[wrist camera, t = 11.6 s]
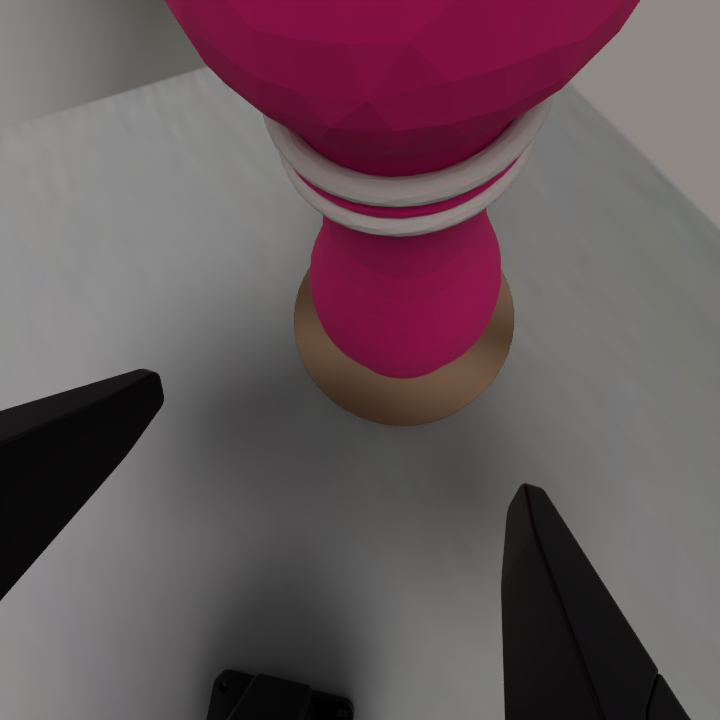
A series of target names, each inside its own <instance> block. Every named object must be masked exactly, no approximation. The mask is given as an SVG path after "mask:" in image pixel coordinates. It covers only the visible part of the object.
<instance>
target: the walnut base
mask: <svg viewBox="0 0 720 720" xmlns="http://www.w3.org/2000/svg"><path fill="white" fill-rule="evenodd" d="M513 330H514V308H513V300H512V296H511V292H510V289H509V285H508V283H507V280H506V278H505V276H504V274H503V272H502V270H501V287H500V293H499V297H498V300H497V303H496V306H495V309H494V311H493V314H492V317H491V319H490V321H489V323H488V325H487V327H486V329H485V331H484V332H483V334H482V335H481V336H480V338H479V339H478V340H477V341H476V343H475V344H474V345H473V346H472V347H471V348H470V349H469V350H467V351H466V352H465V353H464V354H463V355H462V356H460V357H458V358H457V359H455V360H454V361H452V362H451V363H449V364H447V365H444V366H442V367H441V368H439V369H437V370H436V371H434V372H432V373H430V374H427V375H424V376H420V377H416V378H410V379H399V378H390V377H386V376H383V375H380V374H377V373H375V372H373V371H372V370H370V369H368V368H367V367H365V366H362V365H360V364H359V363H357V362H355V361H354V360H352V359H351V358H349V357H348V356H346V355H345V354H344V353H343V352H342V351H341V350H340V349H338V348H337V347H336V346H335V345H334V343H333V342H332V341H331V339H330V338H329V337H328V336H327V334H326V332H325V330H324V328H323V326H322V324H321V323H320V321H319V318H318V316H317V313H316V310H315V307H314V304H313V301H312V296H311V290H310V268H309V269H308V271H307V273H306V275H305V277H304V279H303V281H302V284H301V286H300V289H299V292H298V296H297V299H296V304H295V312H294V331H295V338H296V344H297V347H298V350H299V354H300V357H301V359H302V361H303V363H304V366H305V368H306V369H307V371H308V373H309V374H310V376H311V378H312V379H313V380H314V382H315V383H316V384H317V385H318V387H319V388H320V389H321V390H322V391H323V392H324V393H325V394H326V395H327V396H328V397H329V398H330V399H332V400H333V401H334V402H336V403H337V404H339V405H340V406H341V407H343V408H344V409H346V410H348V411H349V412H351V413H353V414H355V415H357V416H359V417H361V418H364V419H367V420H370V421H372V422H376V423H381V424H386V425H395V426H410V425H419V424H425V423H430V422H433V421H436V420H439V419H442V418H444V417H446V416H448V415H451V414H453V413H455V412H457V411H458V410H460V409H461V408H463V407H464V406H466V405H467V404H469V403H470V402H472V401H473V400H474V399H475V398H477V397H478V396H479V395H480V394H481V393H482V392H483V391H484V390H485V389H486V388H487V387H488V386H489V385H490V383H491V382H492V381H493V380H494V378H495V377H496V375H497V374H498V372H499V371H500V369H501V368H502V366H503V363H504V361H505V359H506V357H507V355H508V352H509V348H510V345H511V342H512V336H513Z"/></svg>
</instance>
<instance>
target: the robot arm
mask: <svg viewBox="0 0 720 720" xmlns="http://www.w3.org/2000/svg"><path fill="white" fill-rule="evenodd" d="M163 402H164V394H163V389H162V384H161V379H160V376H159V374H158V373H156V372H154V371H150V370H147V369H138V370H135V371H131V372H128V373H125V374H121V375H118V376H115V377H111V378H108V379H105V380H101V381H98V382H95V383H92V384H88V385H85V386H82V387H78V388H75V389H72V390H68V391H65V392H62V393H58V394H55V395H52V396H48V397H45V398H42V399H38V400H35V401H32V402H28V403H25V404H22V405H18V406H15V407H12V408H8V409H5V410H2V411H0V601H1V600H2V598H3V597H4V596H5V595H6V594H7V593H8V591H9V590H10V589H11V588H12V587H13V586H14V585H15V583H16V582H17V581H18V580H19V579H20V578H21V577H22V575H23V574H24V573H25V572H26V571H27V570H28V568H29V567H30V566H31V565H32V564H33V563H34V562H35V560H36V559H37V558H38V557H39V556H40V555H41V554H42V552H43V551H44V550H45V549H46V548H47V547H48V545H49V544H50V543H51V542H52V541H53V540H54V539H55V537H56V536H57V535H58V534H59V533H60V532H61V531H62V529H63V528H64V527H65V526H66V525H67V524H68V522H69V521H70V520H71V519H72V518H73V517H74V516H75V514H76V513H77V512H78V511H79V510H80V509H81V508H82V506H83V505H84V504H85V503H86V502H87V501H88V499H89V498H90V497H91V496H92V495H93V494H94V493H95V491H96V490H97V489H98V488H99V487H100V486H101V484H102V483H103V482H104V481H105V480H106V479H107V478H108V476H109V475H110V474H111V473H112V472H113V471H114V470H115V468H116V467H117V466H118V465H119V464H120V463H121V461H122V460H123V459H124V458H125V457H126V455H127V454H128V453H129V451H130V450H131V449H132V447H133V446H134V445H135V443H136V442H137V440H138V439H139V438H140V436H141V435H142V433H143V432H144V431H145V429H146V428H147V426H148V425H149V424H150V422H151V421H152V419H153V418H154V417H155V415H156V414H157V412H158V411H159V410H160V408H161V407H162V405H163ZM501 604H502V637H503V670H504V702H505V720H691V719H690V718H689V716H688V715H687V713H686V712H685V710H684V709H683V707H682V706H681V704H680V703H679V701H678V700H677V698H676V696H675V695H674V693H673V692H672V690H671V689H670V687H669V685H668V684H667V682H666V681H665V679H664V678H663V676H662V675H661V674H658V669H657V667H656V665H655V664H654V662H653V661H652V659H651V657H650V656H649V654H648V653H647V651H646V650H645V648H644V646H643V645H642V643H641V642H640V640H639V639H638V637H637V635H636V634H635V632H634V631H633V629H632V628H631V626H630V624H629V623H628V621H627V620H626V618H625V617H624V615H623V613H622V612H621V610H620V609H619V607H618V605H617V604H616V602H615V601H614V599H613V598H612V596H611V594H610V593H609V591H608V590H607V588H606V587H605V585H604V583H603V582H602V580H601V579H600V577H599V576H598V574H597V572H596V571H595V569H594V568H593V566H592V565H591V563H590V561H589V560H588V558H587V557H586V555H585V554H584V552H583V550H582V549H581V547H580V546H579V544H578V543H577V541H576V539H575V538H574V536H573V535H572V533H571V532H570V530H569V528H568V527H567V525H566V524H565V522H564V521H563V519H562V517H561V516H560V514H559V513H558V511H557V510H556V508H555V506H554V505H553V503H552V502H551V500H550V499H549V497H548V495H547V494H546V492H545V491H544V490H543V489H542V488H540V487H537V486H533V485H530V484H527V483H524V484H522V485H521V486H520V487H519V489H518V491H517V493H516V494H515V496H514V498H513V500H512V502H511V503H510V505H509V508H508V512H507V519H506V531H505V543H504V554H503V566H502V579H501ZM223 680H225V681H227V682H228V684H229V688H226V687H224V685H223ZM339 710H344V711H346V713H347V714H348V715H347V716H346V717H341V716H340V715H339V713H338V711H339ZM207 720H354V706H353V704H352V702H351V701H350V700H349V699H347V698H344V697H340V696H336V695H332V694H328V693H324V692H320V691H316V690H312V688H311V687H310V686H309V685H306V684H301V683H297V682H293V681H289V680H285V679H281V678H277V677H273V676H269V675H264V674H258V675H256V676H254V675H250V674H246V673H242V672H238V671H234V670H224V671H222V672H221V673H220V674H219V676H218V677H217V678H216V679H215V682H214V685H213V690H212V695H211V700H210V705H209V711H208V716H207Z"/></svg>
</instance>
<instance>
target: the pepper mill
mask: <svg viewBox="0 0 720 720" xmlns="http://www.w3.org/2000/svg"><path fill="white" fill-rule="evenodd" d="M165 1H166V3H167V5H168V7H169V8H170V10H171V12H172V13H173V15H174V17H175V18H176V20H177V21H178V22H179V24H180V26H181V27H182V29H183V30H184V32H185V33H186V35H187V36H188V38H189V39H190V41H191V43H192V44H193V46H194V47H195V49H196V50H197V52H198V53H199V55H200V56H201V58H202V59H203V61H204V62H205V64H206V65H207V66H208V67H209V68H210V69H211V70H212V71H213V72H214V73H215V74H216V75H217V76H218V77H219V78H220V79H221V80H222V81H223V82H224V83H225V84H226V85H228V86H229V87H230V88H231V89H233V90H234V91H235V92H237V93H238V94H239V95H240V96H242V97H243V98H244V99H245V100H247V101H248V102H249V103H250V104H252V105H253V106H254V107H255V108H257V109H258V110H259V111H260V112H262V113H263V117H264V121H265V124H266V127H267V130H268V132H269V134H270V136H271V139H272V141H273V143H274V145H275V147H276V148H277V149H278V151H279V155H280V158H281V161H282V164H283V167H284V169H285V171H286V173H287V175H288V177H289V179H290V181H291V183H292V184H293V186H294V187H295V189H296V190H297V192H298V193H299V194H300V195H301V196H302V197H303V198H304V200H305V201H307V202H308V203H309V204H310V205H311V206H312V207H314V208H315V209H316V210H317V211H318V212H320V213H321V214H323V226H322V228H321V230H320V232H319V234H318V236H317V239H316V241H315V244H314V247H313V251H312V255H311V264H310V290H311V296H312V301H313V304H314V307H315V310H316V313H317V316H318V318H319V321H320V323H321V324H322V326H323V328H324V330H325V332H326V334H327V336H328V337H329V338H330V339H331V341H332V342H333V343H334V345H335V346H336V347H337V348H338V349H340V350H341V351H342V352H343V353H344V354H345V355H346V356H348V357H349V358H351V359H352V360H354V361H355V362H357V363H359V364H360V365H362V366H365V367H367V368H368V369H370V370H372V371H373V372H375V373H377V374H380V375H383V376H386V377H390V378H399V379H410V378H416V377H420V376H424V375H427V374H430V373H432V372H434V371H436V370H437V369H439V368H441V367H442V366H444V365H447V364H449V363H451V362H452V361H454V360H455V359H457V358H458V357H460V356H462V355H463V354H464V353H465V352H466V351H467V350H469V349H470V348H471V347H472V346H473V345H474V344H475V343H476V341H477V340H478V339H479V338H480V336H481V335H482V334H483V332H484V331H485V329H486V327H487V325H488V323H489V321H490V319H491V317H492V314H493V311H494V309H495V306H496V303H497V300H498V297H499V293H500V287H501V257H500V249H499V244H498V241H497V238H496V235H495V232H494V230H493V228H492V225H491V223H490V221H489V218H488V216H487V213H486V208H487V207H488V206H489V205H491V204H492V203H494V202H495V201H496V200H497V199H498V198H499V197H500V196H501V195H502V194H503V193H504V192H505V191H506V190H508V189H509V187H510V186H511V185H512V184H513V182H514V181H515V180H516V178H517V177H518V176H519V174H520V173H521V171H522V169H523V168H524V166H525V164H526V163H527V161H528V159H529V156H530V154H531V152H532V149H533V147H534V143H535V139H536V135H537V133H538V131H539V130H540V128H541V126H542V125H543V123H544V121H545V119H546V117H547V115H548V113H549V111H550V108H551V105H552V101H553V97H554V94H555V93H556V92H557V91H559V90H560V89H562V88H563V87H564V86H565V85H566V84H567V83H568V82H569V81H570V80H571V79H572V77H574V76H575V75H576V74H577V73H578V72H579V71H580V70H581V69H582V68H583V67H584V66H585V65H586V64H587V63H588V62H589V61H590V60H591V59H592V58H593V57H594V56H595V55H596V54H597V53H598V52H599V51H600V50H601V49H602V48H603V47H604V46H605V45H606V44H607V43H608V42H609V41H610V40H611V39H612V38H613V37H614V36H615V35H616V34H617V33H618V32H619V31H620V29H621V28H622V26H623V25H624V23H625V22H626V21H627V19H628V18H629V16H630V14H631V13H632V12H633V10H634V9H635V7H636V6H637V4H638V3H639V1H640V0H165Z"/></svg>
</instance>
